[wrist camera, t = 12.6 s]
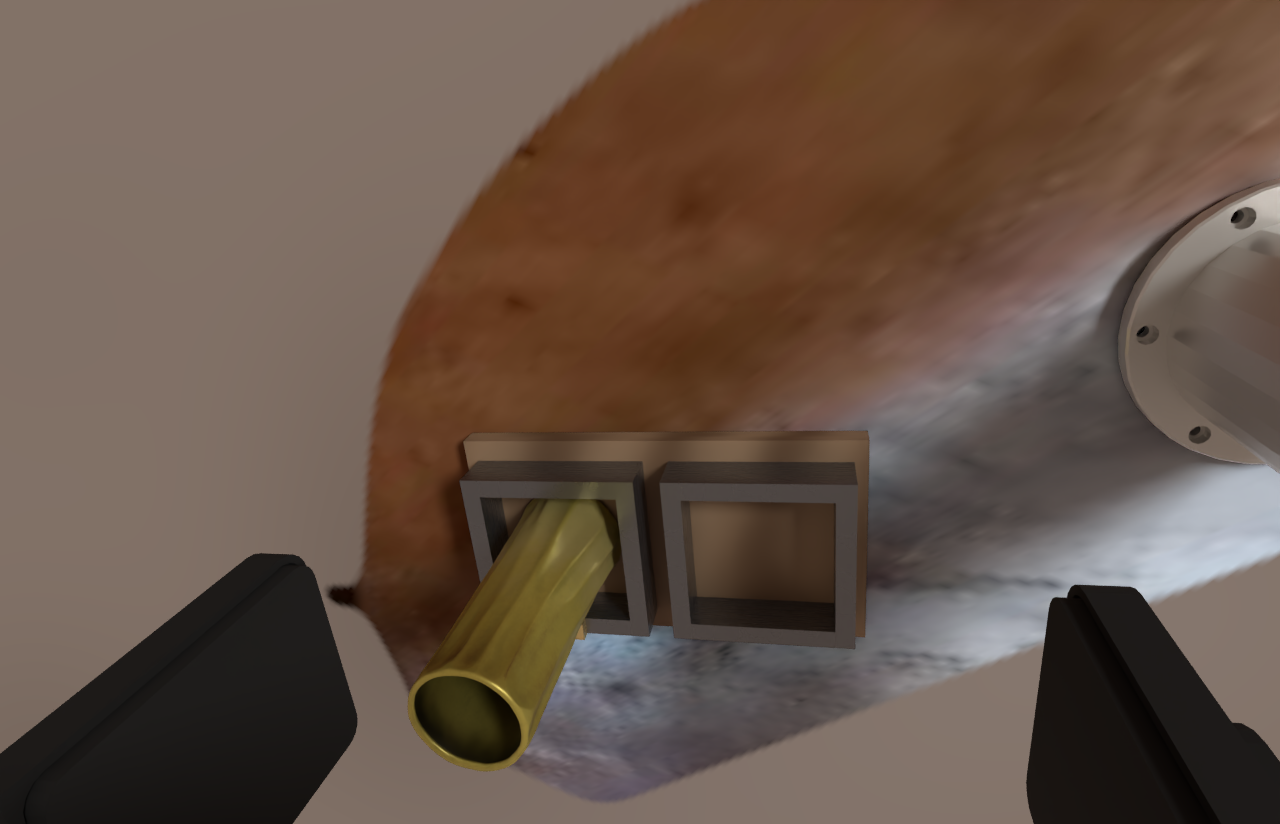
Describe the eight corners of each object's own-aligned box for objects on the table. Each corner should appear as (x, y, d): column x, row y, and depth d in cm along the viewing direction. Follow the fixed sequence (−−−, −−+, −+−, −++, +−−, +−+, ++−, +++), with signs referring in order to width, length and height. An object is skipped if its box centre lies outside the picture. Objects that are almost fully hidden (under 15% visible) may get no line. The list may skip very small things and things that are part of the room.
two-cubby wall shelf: (854, 462, 36) (858, 491, 34) (852, 618, 40) (855, 656, 37) (478, 460, 41) (454, 485, 38) (505, 601, 44) (485, 633, 42)
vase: (586, 596, 43) (491, 803, 30) (503, 536, 43) (371, 719, 30) (644, 531, 40) (567, 726, 28) (556, 467, 40) (437, 634, 27)
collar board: (867, 430, 37) (869, 440, 36) (863, 623, 41) (865, 637, 40) (472, 432, 42) (463, 441, 41) (505, 604, 46) (498, 616, 45)
